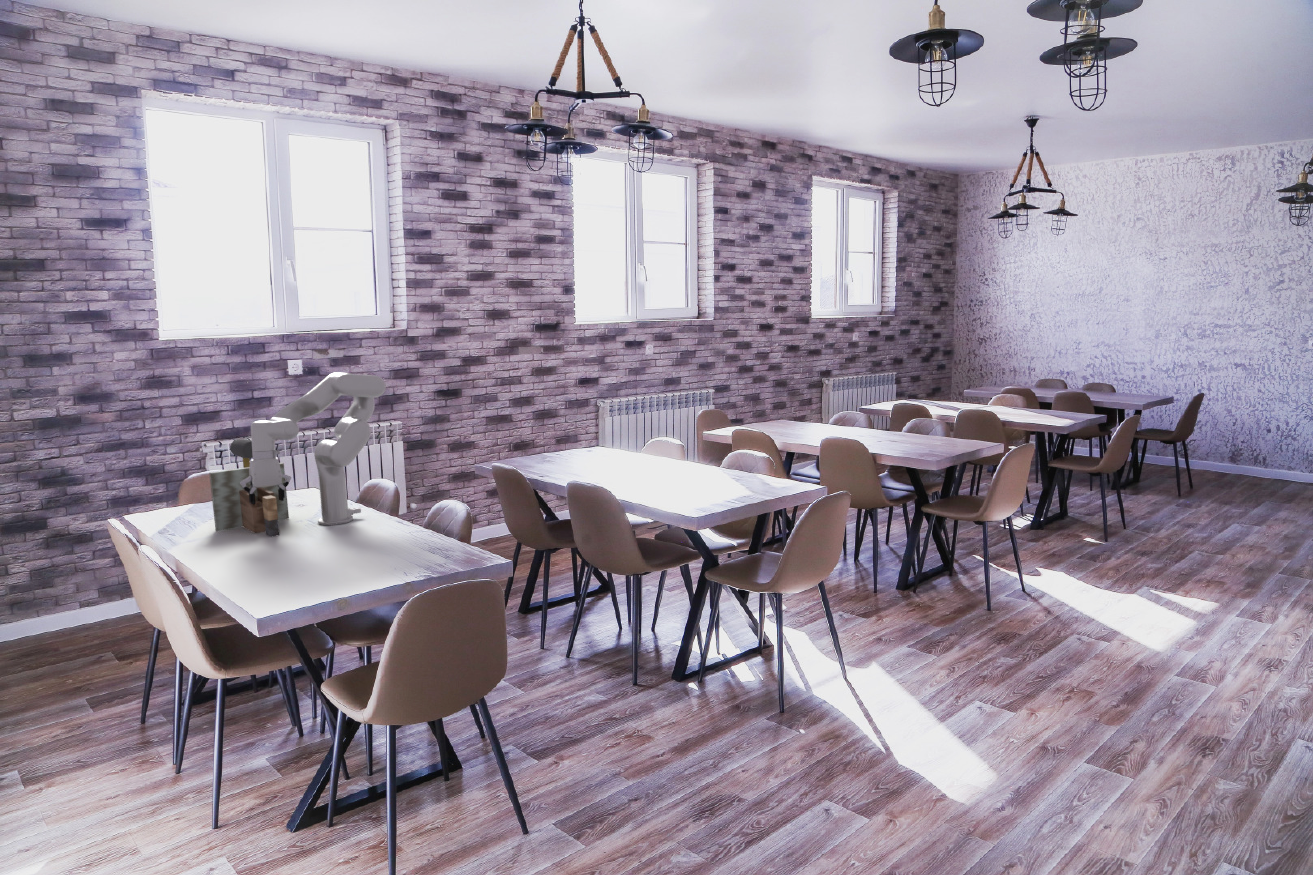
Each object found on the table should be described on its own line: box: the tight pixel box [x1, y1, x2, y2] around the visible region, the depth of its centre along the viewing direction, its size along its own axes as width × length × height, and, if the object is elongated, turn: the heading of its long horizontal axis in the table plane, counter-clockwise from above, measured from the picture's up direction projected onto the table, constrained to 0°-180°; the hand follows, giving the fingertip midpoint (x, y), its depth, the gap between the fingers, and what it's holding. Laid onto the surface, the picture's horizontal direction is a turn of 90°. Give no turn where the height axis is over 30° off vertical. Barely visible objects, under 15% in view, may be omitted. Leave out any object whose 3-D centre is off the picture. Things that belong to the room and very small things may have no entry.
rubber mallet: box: [229, 438, 253, 468], centre depth 342 cm, size 12×8×30 cm, turn 50°
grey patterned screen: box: [209, 462, 290, 534], centre depth 318 cm, size 26×16×22 cm, turn 132°
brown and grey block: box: [262, 496, 280, 538], centre depth 307 cm, size 3×5×14 cm, turn 42°
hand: (267, 502), depth 306 cm, fingers open, 9 cm apart
